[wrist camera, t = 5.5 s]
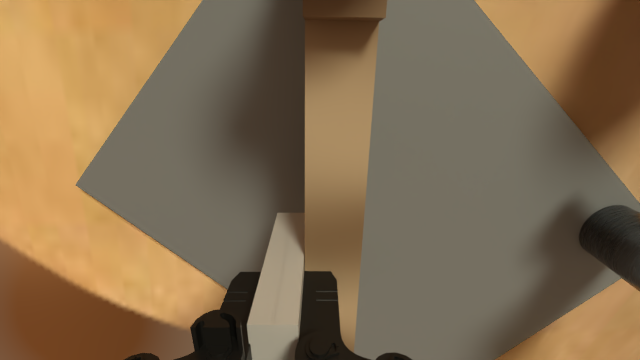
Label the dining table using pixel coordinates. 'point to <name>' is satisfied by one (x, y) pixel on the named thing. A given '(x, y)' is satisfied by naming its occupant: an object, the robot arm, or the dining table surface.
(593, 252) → the post
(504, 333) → the base board
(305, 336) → the robot arm
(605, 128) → the dining table surface
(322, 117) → the wooden block
